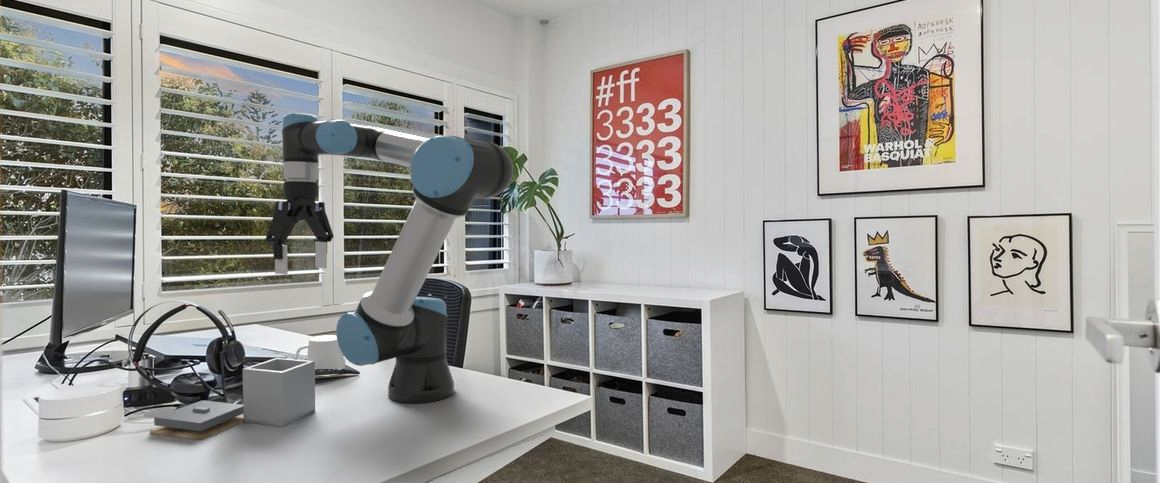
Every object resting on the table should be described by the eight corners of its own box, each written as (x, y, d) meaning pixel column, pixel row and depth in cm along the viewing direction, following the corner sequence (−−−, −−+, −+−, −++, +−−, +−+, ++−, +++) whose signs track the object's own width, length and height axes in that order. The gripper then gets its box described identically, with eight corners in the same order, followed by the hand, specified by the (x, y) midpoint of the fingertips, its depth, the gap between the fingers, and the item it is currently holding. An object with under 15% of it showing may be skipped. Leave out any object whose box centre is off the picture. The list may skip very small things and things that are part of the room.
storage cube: (315, 411, 133) (314, 361, 132) (283, 426, 124) (282, 372, 123) (277, 407, 135) (277, 357, 135) (243, 421, 126) (242, 368, 126)
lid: (245, 416, 128) (245, 402, 127) (200, 435, 117) (200, 419, 117) (202, 411, 130) (202, 397, 130) (154, 429, 120) (154, 414, 120)
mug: (344, 333, 168) (344, 340, 161) (345, 367, 169) (345, 375, 162) (296, 336, 164) (294, 343, 157) (297, 371, 165) (294, 379, 157)
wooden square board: (249, 418, 128) (249, 416, 128) (200, 439, 116) (200, 436, 116) (202, 413, 131) (202, 410, 131) (150, 433, 120) (150, 430, 119)
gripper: (322, 183, 158) (323, 265, 159) (246, 178, 134) (248, 275, 135) (347, 183, 156) (348, 266, 158) (275, 178, 132) (277, 277, 133)
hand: (302, 271), depth 146 cm, fingers open, 13 cm apart
